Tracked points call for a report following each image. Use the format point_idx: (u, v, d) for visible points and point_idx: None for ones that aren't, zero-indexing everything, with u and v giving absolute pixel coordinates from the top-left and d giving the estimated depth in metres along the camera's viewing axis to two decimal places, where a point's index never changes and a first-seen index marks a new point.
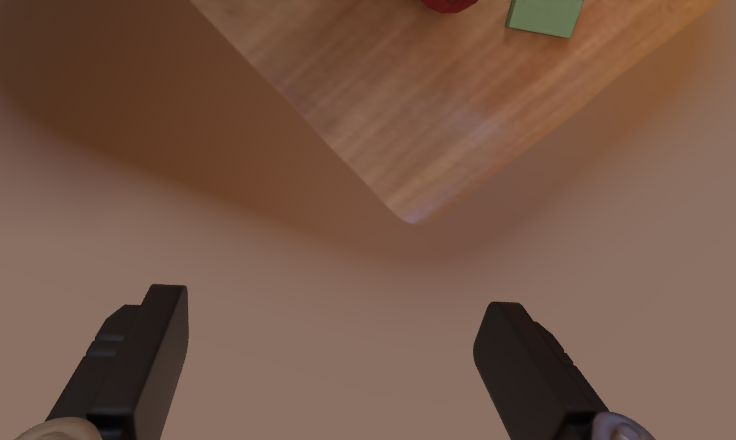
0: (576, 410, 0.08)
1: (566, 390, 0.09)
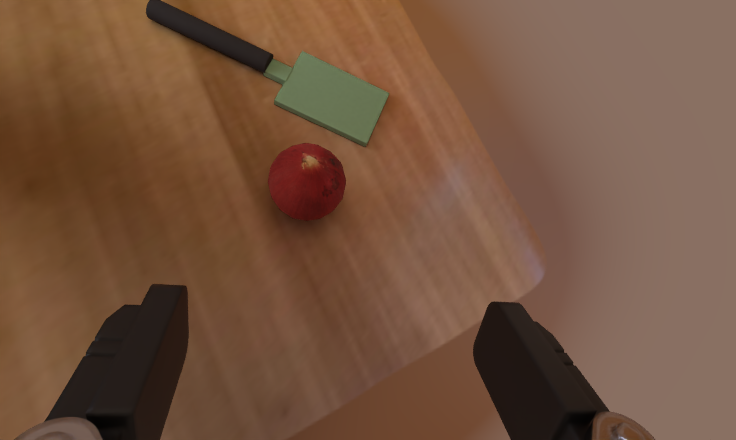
0: (576, 410, 0.08)
1: (566, 390, 0.09)
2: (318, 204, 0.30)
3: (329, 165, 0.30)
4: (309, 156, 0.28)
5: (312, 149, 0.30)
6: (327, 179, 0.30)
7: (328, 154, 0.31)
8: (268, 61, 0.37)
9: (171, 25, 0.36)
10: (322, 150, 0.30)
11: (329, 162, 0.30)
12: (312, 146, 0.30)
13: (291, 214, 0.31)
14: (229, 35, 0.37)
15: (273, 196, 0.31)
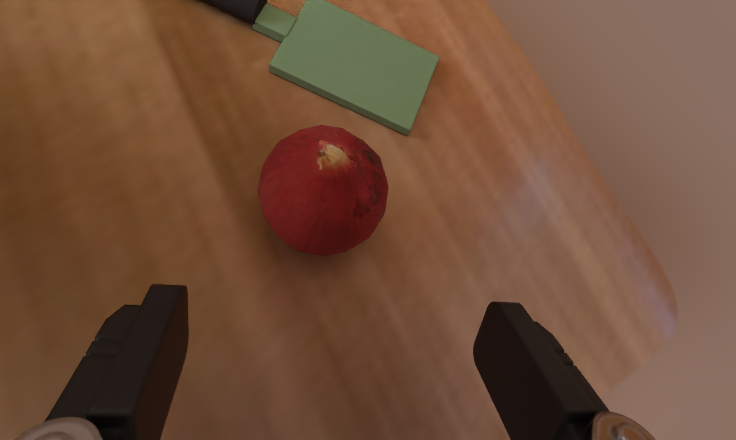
0: (576, 410, 0.08)
1: (566, 390, 0.09)
2: (345, 231, 0.17)
3: (364, 162, 0.17)
4: (332, 146, 0.15)
5: (335, 135, 0.17)
6: (362, 188, 0.17)
7: (361, 143, 0.18)
8: (259, 5, 0.24)
9: None
10: (351, 136, 0.18)
11: (365, 157, 0.17)
12: (334, 130, 0.18)
13: (298, 247, 0.18)
14: None
15: (267, 216, 0.18)
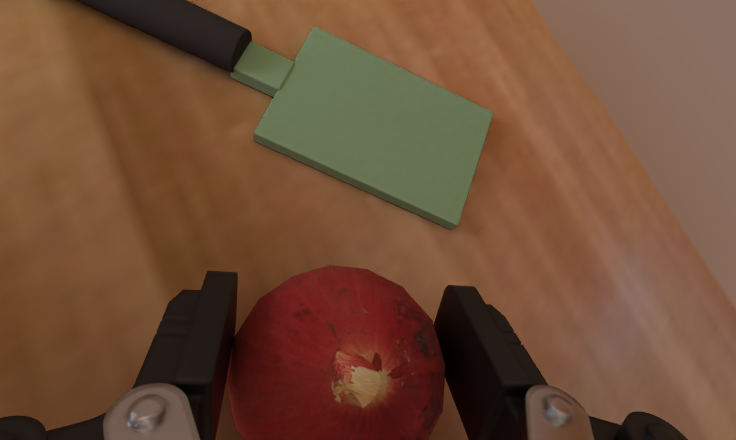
0: (512, 383, 0.09)
1: (506, 365, 0.09)
2: None
3: (416, 366, 0.09)
4: (361, 370, 0.08)
5: (363, 312, 0.09)
6: (413, 416, 0.09)
7: (406, 315, 0.10)
8: (240, 46, 0.17)
9: None
10: (389, 306, 0.10)
11: (415, 352, 0.09)
12: (359, 294, 0.10)
13: None
14: None
15: (241, 434, 0.10)
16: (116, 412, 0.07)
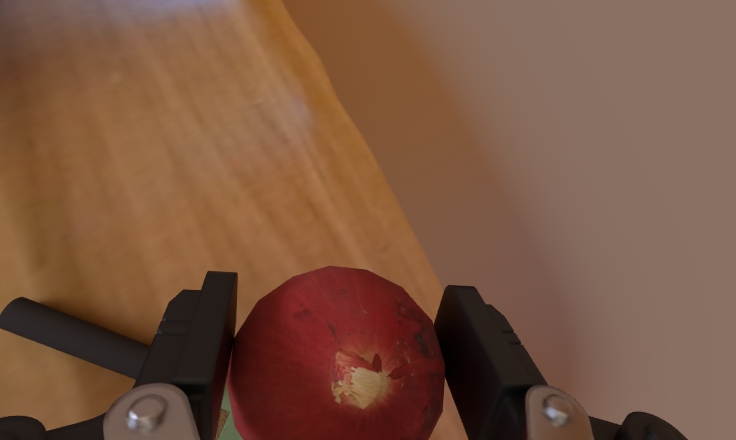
0: (512, 383, 0.09)
1: (506, 365, 0.09)
2: None
3: (416, 367, 0.09)
4: (361, 371, 0.08)
5: (363, 312, 0.09)
6: (413, 417, 0.09)
7: (406, 316, 0.10)
8: None
9: (42, 343, 0.23)
10: (389, 307, 0.10)
11: (415, 353, 0.09)
12: (359, 294, 0.10)
13: None
14: (137, 354, 0.23)
15: (241, 435, 0.10)
16: (116, 412, 0.07)
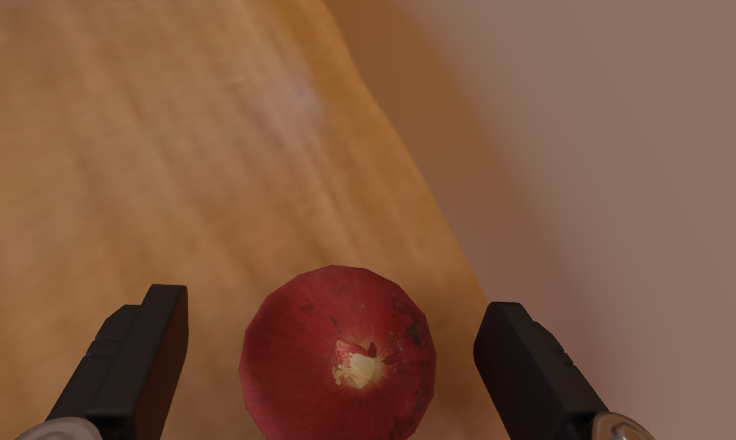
0: (576, 410, 0.08)
1: (566, 390, 0.09)
2: None
3: (408, 355, 0.10)
4: (358, 356, 0.09)
5: (361, 306, 0.11)
6: (405, 399, 0.10)
7: (400, 310, 0.11)
8: None
9: None
10: (385, 302, 0.11)
11: (407, 343, 0.11)
12: (357, 291, 0.11)
13: None
14: None
15: (252, 416, 0.12)
16: None
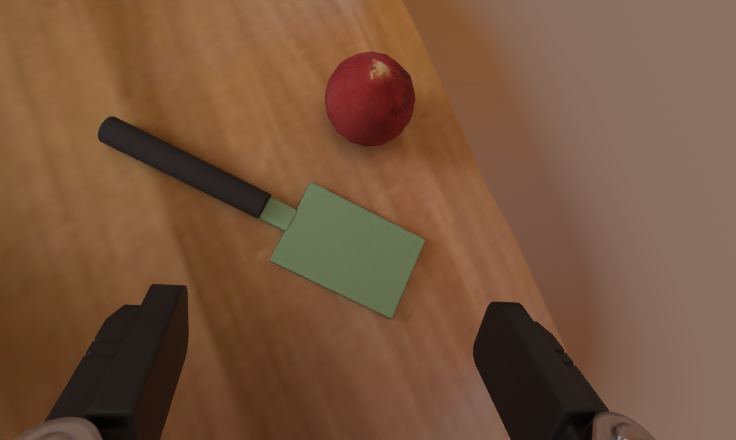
0: (576, 410, 0.08)
1: (566, 390, 0.09)
2: (384, 125, 0.26)
3: (400, 77, 0.25)
4: (380, 62, 0.24)
5: (382, 57, 0.25)
6: (398, 95, 0.25)
7: (399, 65, 0.26)
8: (263, 206, 0.27)
9: (133, 156, 0.27)
10: (392, 60, 0.26)
11: (401, 74, 0.25)
12: (381, 54, 0.26)
13: (351, 136, 0.27)
14: (211, 171, 0.27)
15: (331, 114, 0.27)
16: None
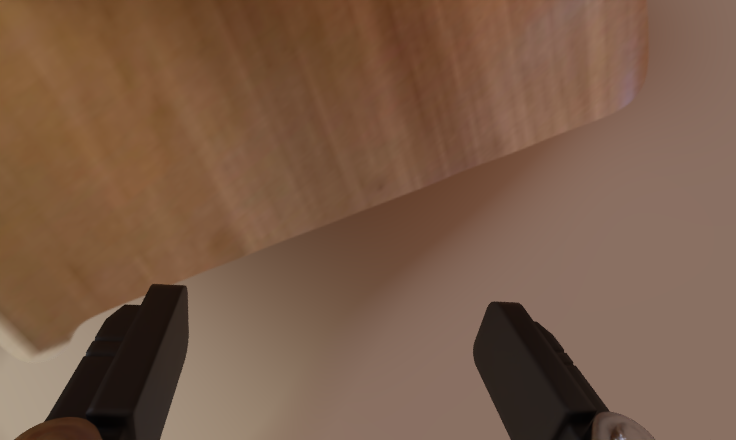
0: (576, 410, 0.08)
1: (566, 390, 0.09)
2: None
3: None
4: None
5: None
6: None
7: None
8: None
9: None
10: None
11: None
12: None
13: None
14: None
15: None
16: None
